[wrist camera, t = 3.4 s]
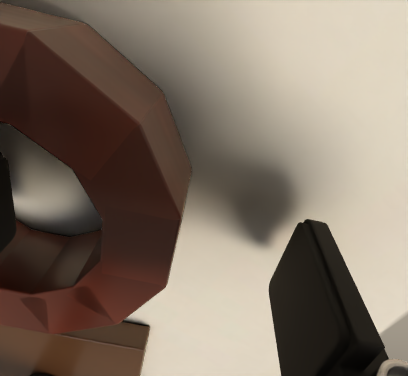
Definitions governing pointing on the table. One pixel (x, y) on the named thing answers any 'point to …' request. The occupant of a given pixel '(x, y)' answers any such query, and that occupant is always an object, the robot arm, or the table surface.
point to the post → (74, 351)
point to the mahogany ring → (89, 175)
